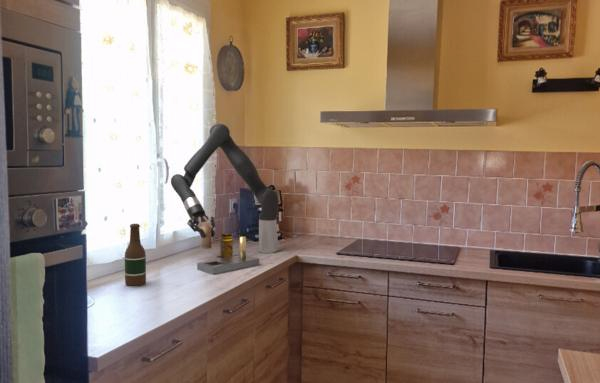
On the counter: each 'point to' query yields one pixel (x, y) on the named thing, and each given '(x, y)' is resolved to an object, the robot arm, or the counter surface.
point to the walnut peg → (207, 230)
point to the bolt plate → (229, 261)
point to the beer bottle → (135, 259)
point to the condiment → (226, 246)
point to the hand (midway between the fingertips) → (209, 236)
